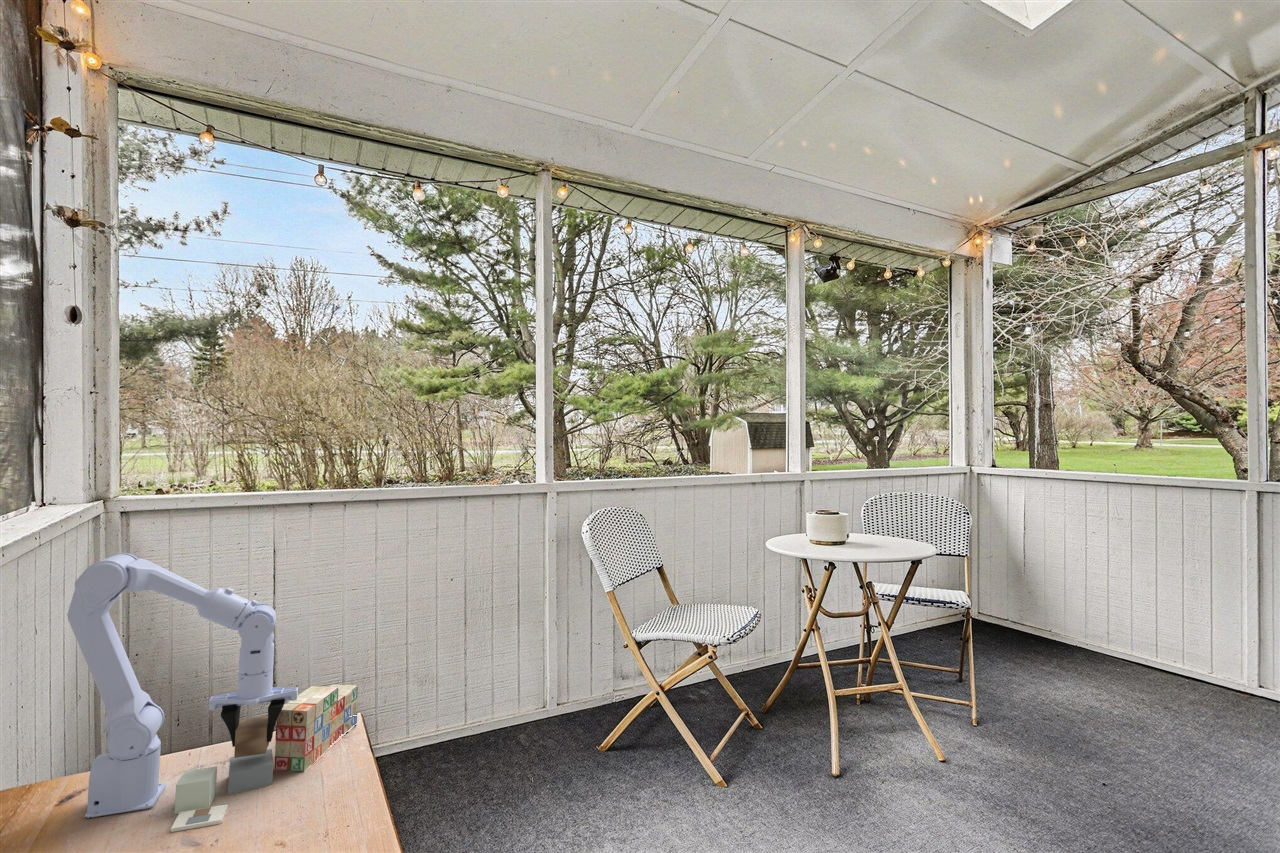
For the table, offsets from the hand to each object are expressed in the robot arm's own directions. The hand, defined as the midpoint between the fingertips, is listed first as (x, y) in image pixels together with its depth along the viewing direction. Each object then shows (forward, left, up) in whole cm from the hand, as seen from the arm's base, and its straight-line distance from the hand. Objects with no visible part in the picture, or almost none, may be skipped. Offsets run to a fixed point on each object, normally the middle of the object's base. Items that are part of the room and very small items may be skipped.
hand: (252, 742), depth 119 cm
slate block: (0, 0, -8) cm, 8 cm away
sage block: (-8, -6, -7) cm, 12 cm away
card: (-6, -12, -7) cm, 15 cm away
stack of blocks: (+11, +11, -8) cm, 17 cm away
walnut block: (0, 0, -1) cm, 1 cm away
